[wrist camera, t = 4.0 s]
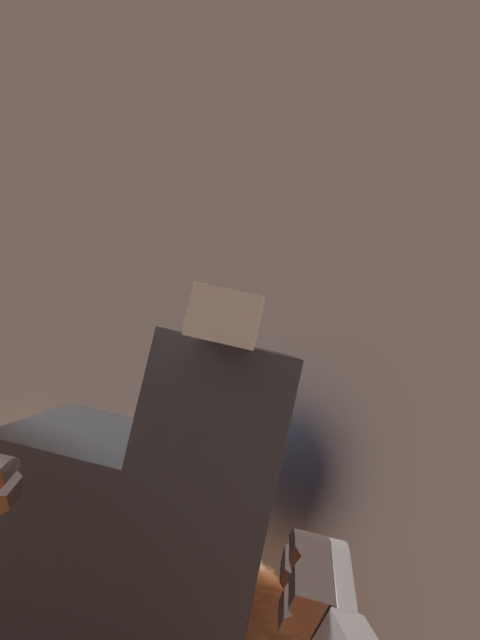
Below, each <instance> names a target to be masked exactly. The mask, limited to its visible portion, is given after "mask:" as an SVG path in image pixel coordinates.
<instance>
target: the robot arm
mask: <svg viewBox="0 0 480 640" xmlns="http://www.w3.org/2000/svg"><path fill="white" fill-rule="evenodd" d="M20 467H21V464H20V460H19V458H16V457H12V456H8V455H5V454H1V453H0V515H1V514H3V513H5V512H7V511H9V510H10V509H11V507H12V506H13V505H14V504H15V502H16V501H17V499H18V497H19V495H20V493H21V491H22V488H23V483H24V482H23V476H22V475H21V474H20V473H19V472H18V469H19V468H20ZM280 584H281V586H282V588H283V592H282V595H281V597H280V600H279V614H278V632H281V633H285V634H288V635H291V636H295V637H298V638H301V639H304V640H379V639H378V637H377V635H376V634H375V632H374V630H373V629H372V627H371V625H370V624H369V622H368V620H367V619H366V617H365V615H362V614H359V611H358V604H357V597H356V590H355V583H354V576H353V570H352V562H351V555H350V549H349V546H348V543H347V542H346V541H343V540H339V539H334V538H331V537H328V536H325V535H320V534H316V533H311V532H308V531H303V530H299V529H295V528H293V529H292V530H291V532H290V535H289V543H288V544H286V545H285V548H284V551H283V555H282V560H281V567H280Z"/></svg>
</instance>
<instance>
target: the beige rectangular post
mask: <svg viewBox="0 0 480 640" xmlns="http://www.w3.org/2000/svg"><path fill="white" fill-rule="evenodd" d="M264 301H265V297H264V296H260V295H255V294H251V293H245V292H241V291H237V290H232V289H228V288H223V287H219V286H214V285H210V284H204V283H200V282H196V281H194V284H193V288H192V292H191V297H190V301H189V305H188V310H187V314H186V318H185V322H184V326H183V331H182V335H186V336H190V337H195V338H199V339H203V340H208V341H212V342H217V343H221V344H225V345H230V346H234V347H238V348H243V349H247V350H252V351H254V345H255V342H256V337H257V333H258V328H259V323H260V319H261V315H262V310H263V306H264Z"/></svg>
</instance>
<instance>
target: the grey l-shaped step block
mask: <svg viewBox="0 0 480 640" xmlns="http://www.w3.org/2000/svg"><path fill="white" fill-rule="evenodd" d="M303 361H304V360H302V359H299V358H296V357H293V356H290V355H287V354H283V353H279V352H274V351H270V350H266V349H261V348H257V347H254V351H252V350H247V349H243V348H238V347H234V346H230V345H225V344H221V343H217V342H212V341H208V340H203V339H199V338H195V337H190V336H186V335H182V331H179V330H174V329H168V328H163V327H157V326H156V328H155V332H154V337H153V340H152V344H151V349H150V353H149V357H148V361H147V365H146V370H145V373H144V378H143V382H142V386H141V390H140V394H139V399H138V403H137V407H136V411H135V415H134V418H131V417H126V416H122V415H118V414H114V413H110V412H106V411H102V410H98V409H93V408H89V407H85V406H81V405H77V404H73V403H71V404H68V405H65V406H61V407H58V408H55V409H52V410H49V411H46V412H43V413H40V414H37V415H34V416H31V417H28V418H25V419H21V420H19V421H16V422H12V423H9V424H6V425H3V426H0V453H1V454H5V455H8V456H12V457H16V458H19V460H20V464H21V467H20V468H19V469H18V472H19V473H20V474H21V475H22V476H23V482H24V483H23V488H22V491H21V493H20V495H19V497H18V499H17V501H16V502H15V504H14V505H13V506H12V507H11V509H10V510H9V511H7V512H5V513H3V514H1V515H0V640H244V637H245V632H246V627H247V623H248V618H249V613H250V609H251V604H252V599H253V595H254V590H255V585H256V581H257V576H258V571H259V567H260V562H261V557H262V552H263V548H264V543H265V539H266V534H267V529H268V525H269V520H270V514H271V510H272V506H273V501H274V496H275V492H276V487H277V482H278V477H279V473H280V468H281V463H282V459H283V454H284V450H285V445H286V440H287V436H288V431H289V426H290V421H291V417H292V412H293V407H294V403H295V398H296V394H297V389H298V384H299V380H300V375H301V370H302V366H303Z"/></svg>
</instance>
